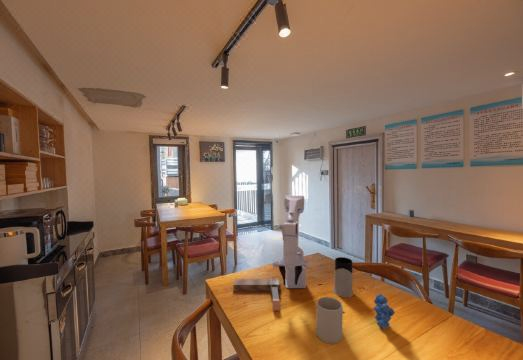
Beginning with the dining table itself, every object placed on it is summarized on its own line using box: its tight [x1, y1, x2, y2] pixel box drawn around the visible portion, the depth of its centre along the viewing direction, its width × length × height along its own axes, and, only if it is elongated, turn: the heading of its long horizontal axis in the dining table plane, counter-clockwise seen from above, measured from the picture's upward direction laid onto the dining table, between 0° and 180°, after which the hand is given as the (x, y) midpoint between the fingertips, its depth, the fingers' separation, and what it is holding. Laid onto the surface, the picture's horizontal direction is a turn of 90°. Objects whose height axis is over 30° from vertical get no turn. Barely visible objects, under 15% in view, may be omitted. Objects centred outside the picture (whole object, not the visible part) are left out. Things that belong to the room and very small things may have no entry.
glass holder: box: [332, 256, 354, 298], centre depth 110 cm, size 9×14×15 cm, turn 158°
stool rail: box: [232, 277, 281, 292], centre depth 110 cm, size 22×10×5 cm, turn 90°
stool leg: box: [270, 285, 281, 312], centre depth 101 cm, size 15×3×4 cm, turn 0°
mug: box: [315, 296, 344, 345], centre depth 81 cm, size 12×8×11 cm
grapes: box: [373, 293, 396, 329], centre depth 83 cm, size 12×7×12 cm, turn 169°
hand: (290, 283), depth 96 cm, fingers open, 4 cm apart
